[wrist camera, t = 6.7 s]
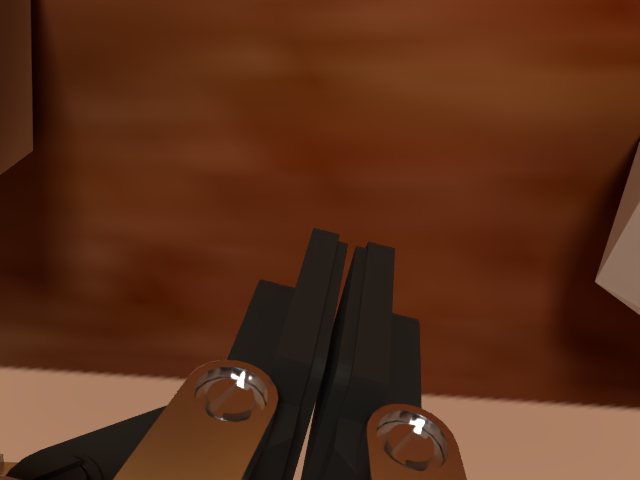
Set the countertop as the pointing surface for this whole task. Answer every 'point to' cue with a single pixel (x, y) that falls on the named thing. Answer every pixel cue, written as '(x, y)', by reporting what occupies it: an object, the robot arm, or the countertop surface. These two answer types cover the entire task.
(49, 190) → the countertop surface
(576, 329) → the countertop surface
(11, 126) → the block
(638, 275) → the die
